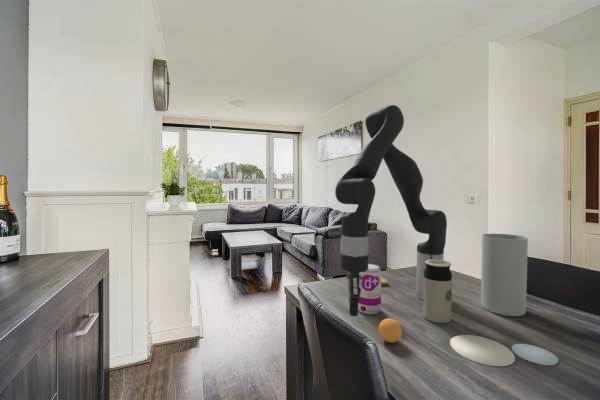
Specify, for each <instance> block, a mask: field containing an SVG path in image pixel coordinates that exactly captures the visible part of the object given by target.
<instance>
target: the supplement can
mask: <svg viewBox="0 0 600 400" xmlns="http://www.w3.org/2000/svg"><path fill="white" fill-rule="evenodd" d="M359 275H361V278H362V285H361V294H360V302H359V303H358V312H360V313H362V314H366V315H377V314H378V313H379V312H381V310H382V285H381V276H382V270H381V268H380V265H377V264H374V263H368V270H367V271H365V272H360V273H359Z"/></svg>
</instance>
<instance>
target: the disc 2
mask: <svg viewBox="0 0 600 400" xmlns="http://www.w3.org/2000/svg"><path fill="white" fill-rule="evenodd" d="M511 352H512V353H513V354H514V355H516V356H518V357H519V358H521V359H523V360H525V361H527V360H528V361H527V362H530V363H534V364H537V365H541V366H555V364H556V365H557V363H558V364H559V362H558V361H559V358H558V357H557V356H556V355H555V354H554V353H553V352H550V351H549V350H547V349H544V348H542V347H540V346H536V345H533V344H527V343H515V344H513V345H512V346H511Z"/></svg>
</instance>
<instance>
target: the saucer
mask: <svg viewBox="0 0 600 400" xmlns="http://www.w3.org/2000/svg"><path fill="white" fill-rule="evenodd" d="M381 281H382V282H381V286H386V285H388V283H389V281H388V280H387V279H385V278H384V277H383V276H382V275H381Z"/></svg>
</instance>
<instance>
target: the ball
mask: <svg viewBox="0 0 600 400" xmlns="http://www.w3.org/2000/svg"><path fill="white" fill-rule="evenodd" d="M378 333H379V335H380V337H381V339H382V340H384V341H385V342H387V343H391V344H392V343H396V342H398V341H399V340H400V339H401V338H402V334H403V329H402V326H401V324H400V323H399V322H398V321H397V320H396V319H394V318H385V319H383V320H382V321H381V322H380V323H379V326H378Z"/></svg>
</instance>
